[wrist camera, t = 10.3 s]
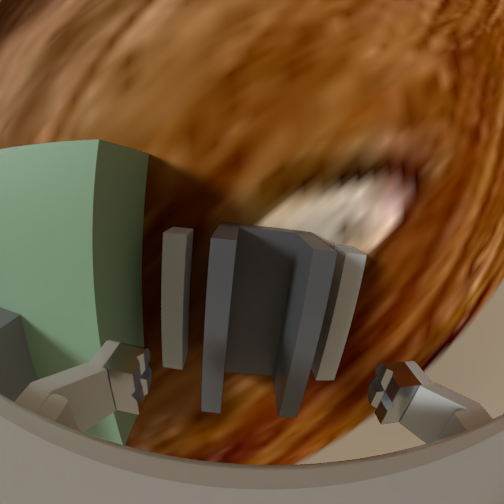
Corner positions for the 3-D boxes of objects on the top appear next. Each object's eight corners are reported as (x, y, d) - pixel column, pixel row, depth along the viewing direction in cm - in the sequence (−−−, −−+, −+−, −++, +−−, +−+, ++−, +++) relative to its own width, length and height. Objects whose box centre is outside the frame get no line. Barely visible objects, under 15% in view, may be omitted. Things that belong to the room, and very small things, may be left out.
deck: (9, 159, 14) (-110, 164, 3) (363, 179, 15) (523, 185, 4) (27, 352, 18) (-46, 426, 7) (313, 404, 19) (349, 532, 8)
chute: (210, 359, 18) (201, 411, 13) (221, 221, 16) (210, 237, 11) (285, 365, 18) (296, 417, 13) (310, 231, 16) (337, 251, 11)
